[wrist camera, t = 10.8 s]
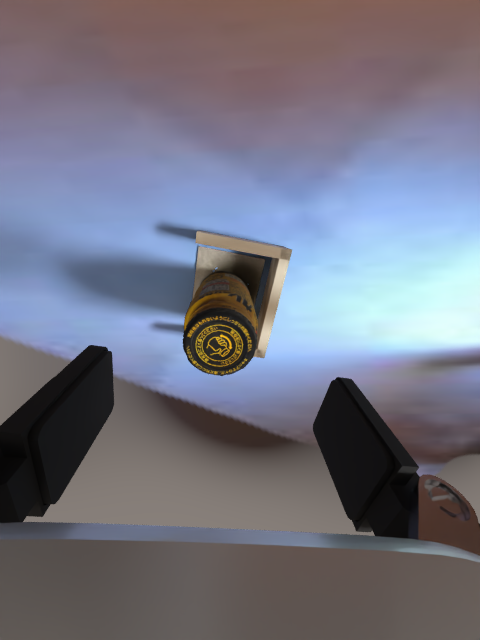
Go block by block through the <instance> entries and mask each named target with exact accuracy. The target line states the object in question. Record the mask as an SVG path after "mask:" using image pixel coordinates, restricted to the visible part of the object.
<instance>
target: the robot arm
mask: <svg viewBox="0 0 480 640" xmlns="http://www.w3.org/2000/svg"><path fill="white" fill-rule="evenodd" d="M113 406H114V392H113V365H112V352H111V351H108V349H107V348H106V347H102V346H94V345H90V346H88V347H87V348H86V349H85V350H84V351H83V352H81V353H80V354H79V355H78V356H77V357H76V358H75V359H74V360H73V361H72V362H71V363H70V364H68V366H66V367H65V368H64V369H63V370H62V371H61V372H60V373H59V374H58V375H57V376H56V377H54V378H52V379H51V380H50V381H49V382H48V383H47V384H45V385H44V386H43V387H42V388H41V389H40V390H39V391H38V392H37V393H36V394H34V395H33V396H32V397H31V398H30V399H29V400H28V401H27V402H26V403H25V404H24V405H22V406H21V407H20V408H19V409H18V410H17V411H16V412H15V413H14V414H13V415H12V416H11V417H9V418H8V419H7V420H6V421H5V422H4V423H3V424H2V425H1V426H0V640H480V524H479V523H478V519H477V516H476V513H475V511H474V509H473V508H472V506H471V505H470V503H469V502H468V501H467V500H466V498H465V497H464V496H463V495H462V494H461V493H460V492H459V491H457V490H456V489H455V488H454V487H453V486H451V485H450V484H448V483H447V482H445V481H444V480H442V479H440V478H438V477H436V476H432V475H422V476H421V477H419V476H418V474H417V473H416V471H417V470H418V468H419V467H418V465H417V464H416V463H415V461H414V460H413V459H412V457H411V456H410V455H409V453H408V452H407V451H406V450H405V448H404V447H403V446H402V444H401V443H400V442H399V440H398V439H397V438H396V436H395V435H394V434H393V433H392V431H391V430H390V429H389V427H388V426H387V425H386V423H385V422H384V421H383V419H382V418H381V417H380V416H379V414H378V413H377V412H376V410H375V409H374V408H373V406H372V405H371V404H370V402H369V401H368V400H367V399H366V397H365V396H364V395H363V393H362V392H361V391H360V389H359V388H358V387H357V385H356V384H355V383H354V382H353V380H352V379H348V378H340V377H338V378H336V379H335V380H333V381H332V382H331V384H330V386H329V388H328V391H327V393H326V395H325V398H324V400H323V402H322V405H321V407H320V410H319V412H318V414H317V417H316V419H315V421H314V424H313V431H314V434H315V437H316V439H317V442H318V444H319V447H320V449H321V452H322V454H323V457H324V459H325V462H326V464H327V467H328V469H329V472H330V475H331V477H332V479H333V482H334V484H335V487H336V490H337V492H338V495H339V497H340V500H341V502H342V505H343V507H344V510H345V512H346V514H347V516H348V518H349V519H350V520H352V522H353V524H354V526H355V529H356V531H359V532H371V531H372V530H373V532H374V534H375V536H366V535H347V534H327V533H307V532H287V531H266V530H245V529H222V528H199V527H176V526H149V525H125V524H99V523H52V522H51V523H50V522H23V521H24V519H25V518H26V516H37V517H43V515H44V514H45V512H46V510H47V509H48V507H49V506H50V504H55V503H56V502H57V501H58V500H59V498H60V497H61V495H62V494H63V492H64V490H65V489H66V487H67V485H68V484H69V482H70V480H71V478H72V477H73V475H74V473H75V472H76V470H77V468H78V467H79V465H80V464H81V462H82V460H83V459H84V457H85V455H86V454H87V452H88V450H89V448H90V447H91V445H92V443H93V442H94V440H95V439H96V437H97V435H98V434H99V432H100V430H101V429H102V427H103V425H104V423H105V422H106V420H107V418H108V417H109V415H110V414H111V412H112V409H113Z"/></svg>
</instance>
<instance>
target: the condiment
mask: <svg viewBox="0 0 480 640" xmlns="http://www.w3.org/2000/svg"><path fill="white" fill-rule="evenodd" d="M264 263H265V259H261V258H256V257H251V256H246V255H241V254H236V253H231V252H226V251H220V250H216V249H210V248H205V247H200V246H199V248H198V256H197V264H196V273H195V281H194V290H193V298H192V301H191V303H190V306H189V308H188V311H187V313H186V316H185V321H184V335H183V337H184V338H183V348H184V351H185V353H186V355H187V358H188V360H189V362H190V363H191V364H192V365H193V366H194V367H196V368H197V369H199V370H201V371H202V372H205V373H208V374H213V375H220V376H223V375H228V374H233V373H235V372H237V371H239V370H240V369H243V368H244V367H245V366H246V365H247V364H248V363H249V362H250V360H251V359H252V358H253V356H254V354H255V351H256V347H257V346H256V345H257V330H258V320H257V316H256V313H255V310H254V305H255V301H256V297H257V293H258V289H259V284H260V280H261V275H262V271H263V267H264ZM216 267H218V268H217V269H216V270H215V268H216ZM213 270H215V271H214V272H212V271H213ZM247 284H248V285H247Z"/></svg>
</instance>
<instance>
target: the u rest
mask: <svg viewBox="0 0 480 640" xmlns="http://www.w3.org/2000/svg"><path fill="white" fill-rule="evenodd" d="M196 243H199V244H204V245H209V246H215V247H220V248H225V249H231V250H236V251H241V252H247V253H252V254H257V255H262V256H268V257H272V260H271V264H270V268H269V273H268V277H267V281H266V286H265V290H264V294H263V299H262V303H261V307H260V312H259V316H258V330H257V345H256V346H257V347H256V351H255V354H254V356H253V357H260V358H264V357H265V353H266V349H267V345H268V341H269V337H270V334H271V330H272V326H273V322H274V318H275V314H276V310H277V307H278V303H279V299H280V295H281V291H282V287H283V283H284V280H285V276H286V272H287V268H288V264H289V260H290V256H291V253H292V250H291V249H288V248H286V247H283V246H278V245H272V244H267V243H262V242H257V241H252V240H247V239H242V238H237V237H231V236H226V235H221V234H216V233H211V232H206V231H197V234H196Z"/></svg>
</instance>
